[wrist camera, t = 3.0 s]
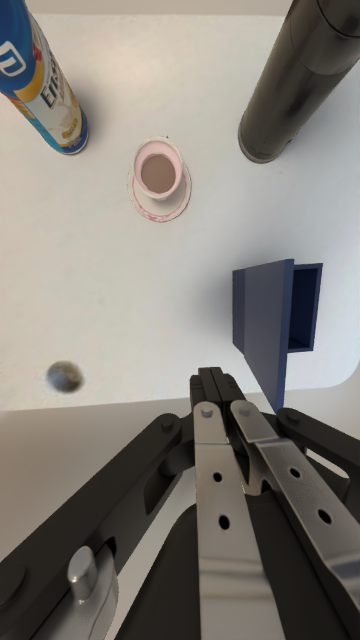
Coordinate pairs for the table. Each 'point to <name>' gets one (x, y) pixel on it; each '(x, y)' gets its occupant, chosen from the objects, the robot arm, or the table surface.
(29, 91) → the beverage bottle
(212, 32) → the table surface
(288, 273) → the lid
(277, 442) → the robot arm
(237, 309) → the case
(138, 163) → the teacup
